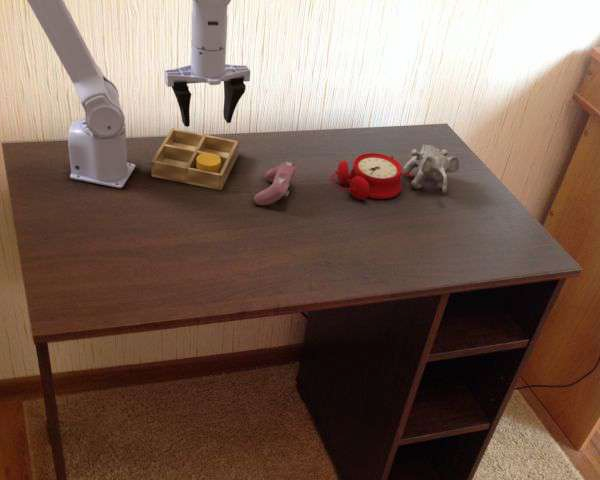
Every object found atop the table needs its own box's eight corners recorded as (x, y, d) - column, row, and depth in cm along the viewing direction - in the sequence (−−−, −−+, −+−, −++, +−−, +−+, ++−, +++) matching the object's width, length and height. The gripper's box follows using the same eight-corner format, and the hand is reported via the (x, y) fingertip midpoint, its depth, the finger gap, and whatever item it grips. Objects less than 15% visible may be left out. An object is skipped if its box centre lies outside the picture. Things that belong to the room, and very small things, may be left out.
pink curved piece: (272, 217, 134) (292, 190, 130) (250, 202, 133) (271, 174, 128) (284, 189, 141) (304, 162, 136) (264, 175, 140) (283, 147, 135)
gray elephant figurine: (428, 167, 150) (438, 132, 144) (468, 199, 144) (479, 162, 138) (392, 177, 146) (401, 140, 140) (431, 209, 140) (442, 172, 134)
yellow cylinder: (193, 177, 136) (193, 162, 134) (199, 165, 139) (200, 150, 137) (217, 182, 136) (217, 167, 134) (222, 170, 139) (223, 155, 137)
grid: (151, 176, 136) (151, 161, 134) (172, 142, 145) (171, 127, 143) (221, 190, 136) (222, 175, 134) (237, 155, 145) (238, 141, 142)
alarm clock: (421, 176, 140) (358, 173, 132) (407, 206, 144) (346, 204, 136) (390, 148, 146) (328, 144, 137) (378, 178, 150) (317, 175, 141)
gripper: (172, 56, 118) (173, 136, 128) (258, 51, 123) (252, 129, 133) (160, 37, 122) (161, 116, 132) (244, 33, 127) (239, 110, 137)
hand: (206, 122), depth 133 cm, fingers open, 7 cm apart
